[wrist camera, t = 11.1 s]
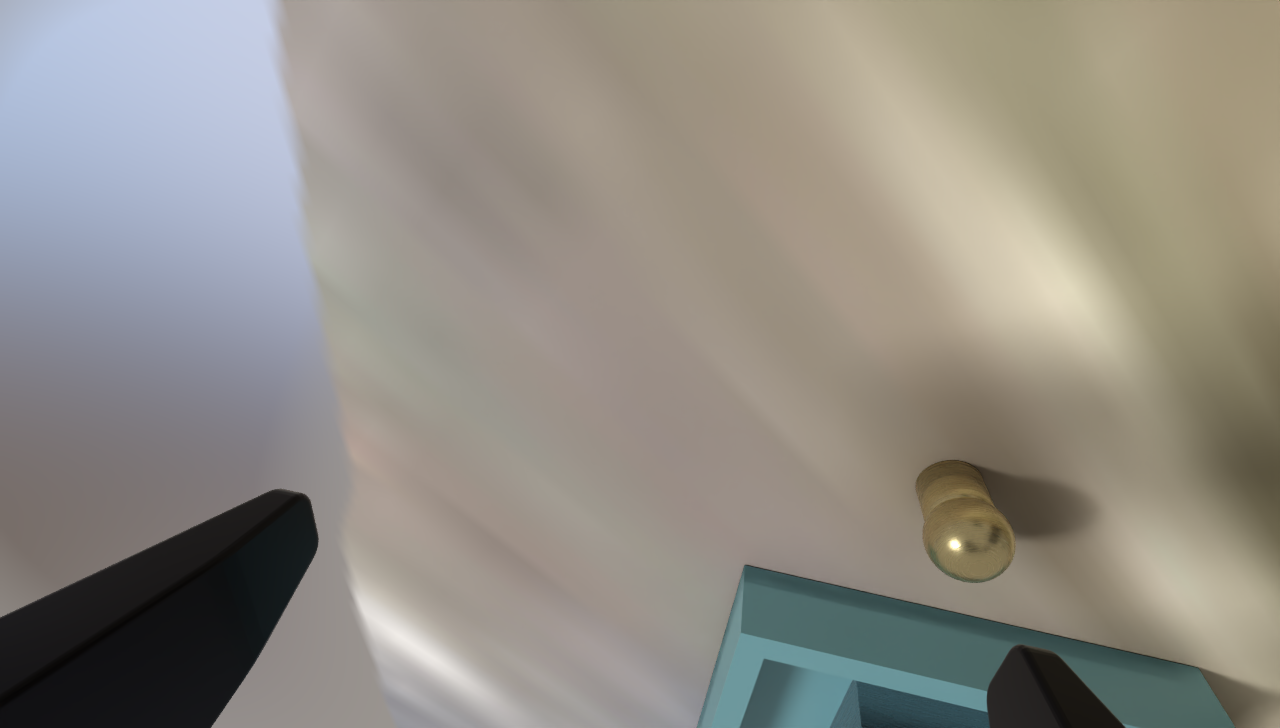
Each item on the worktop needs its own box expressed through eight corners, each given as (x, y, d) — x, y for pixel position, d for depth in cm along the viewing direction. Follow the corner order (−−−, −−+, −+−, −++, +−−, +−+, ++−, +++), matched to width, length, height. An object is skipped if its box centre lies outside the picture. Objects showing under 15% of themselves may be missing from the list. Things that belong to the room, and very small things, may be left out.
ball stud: (1002, 464, 20) (1043, 549, 17) (972, 520, 21) (1005, 609, 18) (923, 448, 20) (949, 529, 17) (898, 504, 22) (919, 590, 18)
